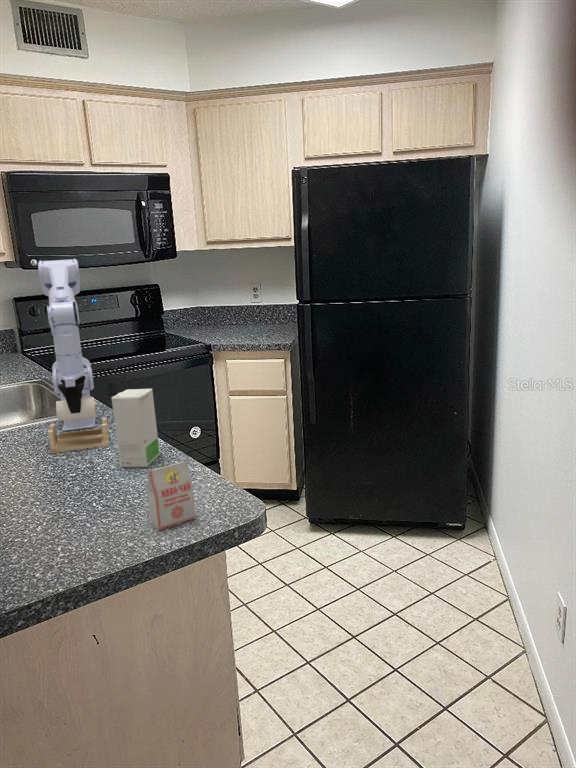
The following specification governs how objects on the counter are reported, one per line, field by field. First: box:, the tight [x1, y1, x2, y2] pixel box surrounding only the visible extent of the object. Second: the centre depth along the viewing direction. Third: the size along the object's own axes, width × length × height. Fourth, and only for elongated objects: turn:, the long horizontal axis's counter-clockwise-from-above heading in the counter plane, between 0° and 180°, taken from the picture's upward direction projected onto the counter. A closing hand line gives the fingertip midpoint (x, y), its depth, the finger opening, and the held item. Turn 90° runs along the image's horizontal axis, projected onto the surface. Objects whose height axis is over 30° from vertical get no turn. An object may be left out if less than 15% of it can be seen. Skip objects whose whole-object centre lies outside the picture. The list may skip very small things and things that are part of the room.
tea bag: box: [146, 461, 197, 531], centre depth 102 cm, size 4×7×10 cm, turn 124°
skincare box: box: [111, 388, 161, 468], centre depth 130 cm, size 8×7×16 cm
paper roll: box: [55, 396, 97, 422], centre depth 143 cm, size 9×5×5 cm, turn 106°
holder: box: [47, 416, 110, 454], centre depth 144 cm, size 8×13×5 cm, turn 106°
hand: (76, 409), depth 143 cm, fingers closed on paper roll, 5 cm apart
